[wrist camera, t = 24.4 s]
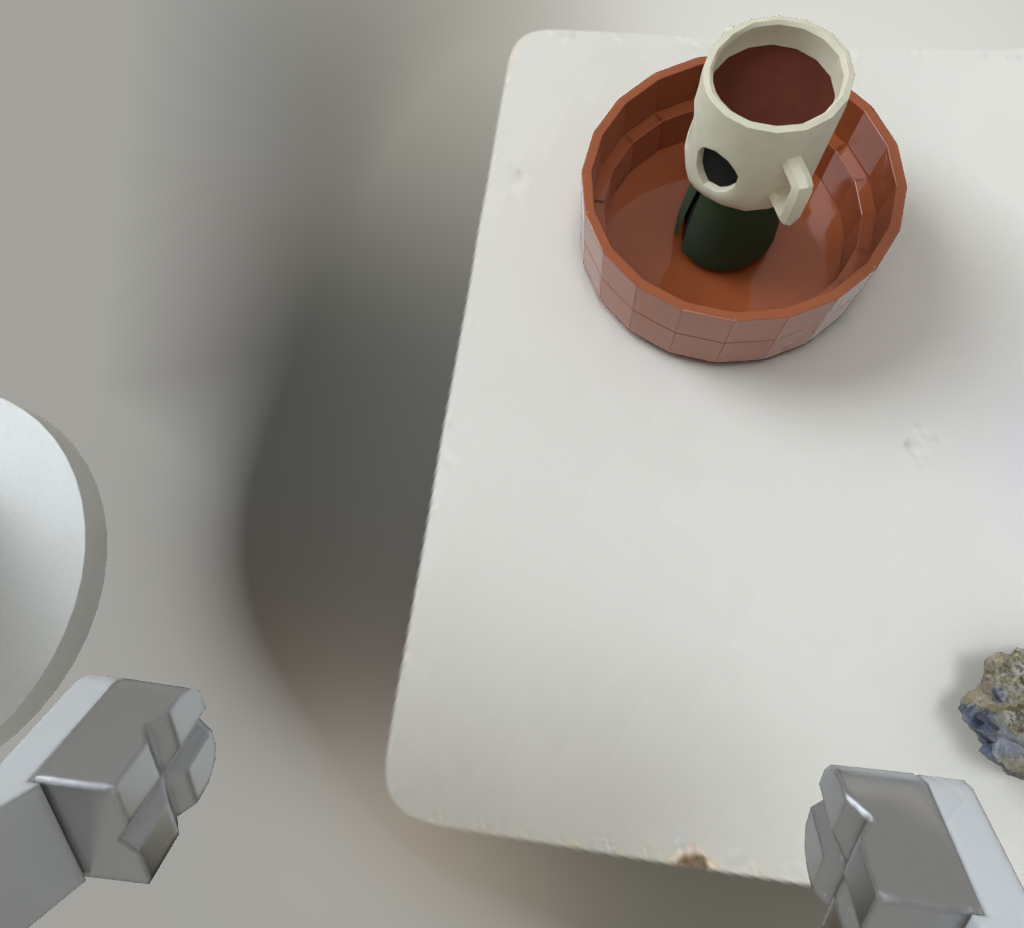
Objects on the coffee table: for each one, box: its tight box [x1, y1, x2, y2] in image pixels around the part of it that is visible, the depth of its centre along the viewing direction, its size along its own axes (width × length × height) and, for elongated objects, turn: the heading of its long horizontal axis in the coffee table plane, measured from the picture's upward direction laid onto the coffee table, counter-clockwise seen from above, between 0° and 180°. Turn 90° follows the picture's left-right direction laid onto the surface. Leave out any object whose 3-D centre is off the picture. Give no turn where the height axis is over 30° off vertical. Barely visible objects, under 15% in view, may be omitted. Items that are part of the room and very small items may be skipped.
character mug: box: [675, 15, 855, 271], centre depth 39 cm, size 11×7×13 cm, turn 15°
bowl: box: [581, 57, 907, 362], centre depth 43 cm, size 18×18×6 cm
